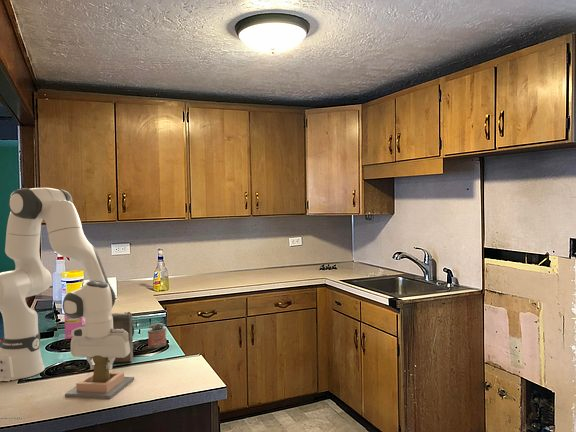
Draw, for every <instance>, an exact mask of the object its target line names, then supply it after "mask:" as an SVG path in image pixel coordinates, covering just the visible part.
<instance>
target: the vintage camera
mask: <svg viewBox="0 0 576 432" xmlns="http://www.w3.org/2000/svg"><path fill="white" fill-rule="evenodd" d="M111 313H112V316H113V329H124V330H125V331H126V332H127V333H128V336H129V339H128V340H129V345H130V353H129V355H127V356H126V357H124V358H115V360H114V362H113V364H117V363H118V364H122V363H133V360H134V351H135V350H137V348H138V347H139V346H140V344H141V342H140V341H135V342H133V337H134V334H135V327H134V325H133V315H132V314H133V313H132V312H130V311H127V312H122V313H121V312H119V313H118V312H111ZM109 361H110V360H109ZM109 361H108V363H109Z"/></svg>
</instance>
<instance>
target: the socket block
mask: <svg viewBox="0 0 576 432" xmlns="http://www.w3.org/2000/svg"><path fill="white" fill-rule="evenodd" d="M109 373H110V380H108V381H107V382H106V383H97V382H93V374H94V371H93V372H92V373H90V374H88V375H87V376H85V377H84V378H83V379H81V380H79V381H78V382H76V383H75V385H76V386H74V387H72V389H70V390H68V391H66V392H65V393H64V397H65V398H82V399H85V398H86V399H101V400H102V399H104V400H111V399H112V398H113V397H114V396H116V395H117V394H118V393H120V392H121V391H123V390H124V389H125V388H126V387H127V386H128V384H129V385H130V384H131V383H132V382H134V381H135V380H136V379H135V378H136V377H135V376H125V372H123V371H122V372H121V371H109ZM134 379H135V380H134ZM133 380H134V381H133ZM124 387H125V388H124Z"/></svg>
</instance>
